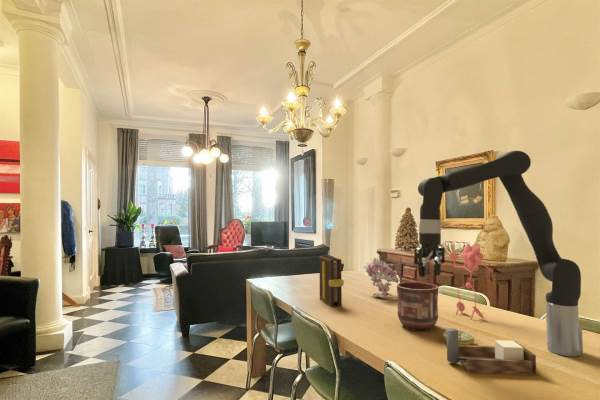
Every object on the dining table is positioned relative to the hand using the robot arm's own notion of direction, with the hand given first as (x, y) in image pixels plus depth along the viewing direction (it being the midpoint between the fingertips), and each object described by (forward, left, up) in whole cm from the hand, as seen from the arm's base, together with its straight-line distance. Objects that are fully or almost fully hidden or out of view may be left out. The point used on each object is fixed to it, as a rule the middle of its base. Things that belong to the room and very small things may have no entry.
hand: (429, 275), depth 126 cm
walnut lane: (-16, +12, -27) cm, 33 cm away
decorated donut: (-12, -8, -27) cm, 31 cm away
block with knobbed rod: (-13, +12, -26) cm, 31 cm away
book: (+38, -64, -27) cm, 79 cm away
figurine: (-32, -45, -27) cm, 62 cm away
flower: (+7, -84, -27) cm, 88 cm away
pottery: (-1, -26, -27) cm, 37 cm away
